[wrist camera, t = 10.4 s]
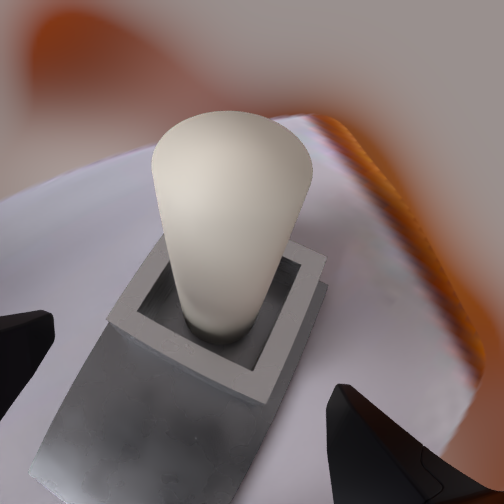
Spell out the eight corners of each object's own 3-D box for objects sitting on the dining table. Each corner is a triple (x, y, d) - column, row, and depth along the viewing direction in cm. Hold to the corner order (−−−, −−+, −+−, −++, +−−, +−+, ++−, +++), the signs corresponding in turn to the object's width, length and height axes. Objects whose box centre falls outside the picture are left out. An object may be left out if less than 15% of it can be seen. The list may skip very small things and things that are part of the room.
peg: (226, 359, 17) (248, 258, 7) (168, 312, 18) (119, 164, 8) (271, 303, 19) (338, 157, 9) (215, 262, 20) (223, 96, 10)
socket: (189, 563, 11) (185, 592, 8) (35, 471, 12) (1, 476, 9) (323, 291, 21) (345, 263, 18) (181, 225, 22) (177, 188, 19)
